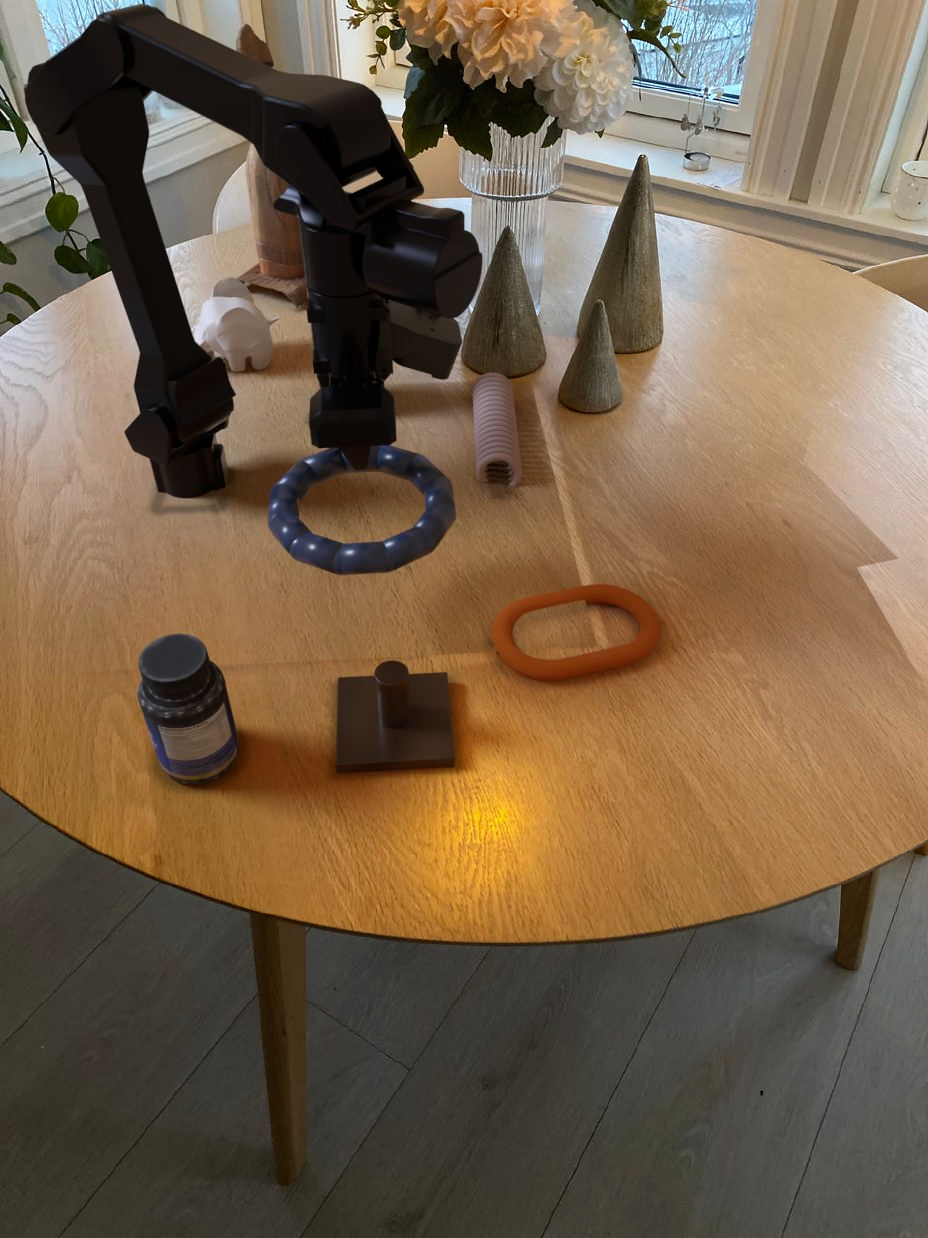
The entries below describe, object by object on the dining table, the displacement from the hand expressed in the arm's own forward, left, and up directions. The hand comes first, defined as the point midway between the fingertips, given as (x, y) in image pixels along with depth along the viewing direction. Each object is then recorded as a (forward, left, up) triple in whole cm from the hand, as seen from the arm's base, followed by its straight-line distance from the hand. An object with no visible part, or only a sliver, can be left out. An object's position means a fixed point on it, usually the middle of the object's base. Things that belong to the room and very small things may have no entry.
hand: (360, 459), depth 81 cm
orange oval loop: (+18, -10, -13) cm, 24 cm away
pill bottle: (-13, -21, -13) cm, 28 cm away
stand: (+2, -19, -13) cm, 23 cm away
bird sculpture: (-11, +62, -13) cm, 65 cm away
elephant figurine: (-16, +41, -13) cm, 46 cm away
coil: (+14, +20, -13) cm, 28 cm away
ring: (0, -6, 0) cm, 6 cm away
